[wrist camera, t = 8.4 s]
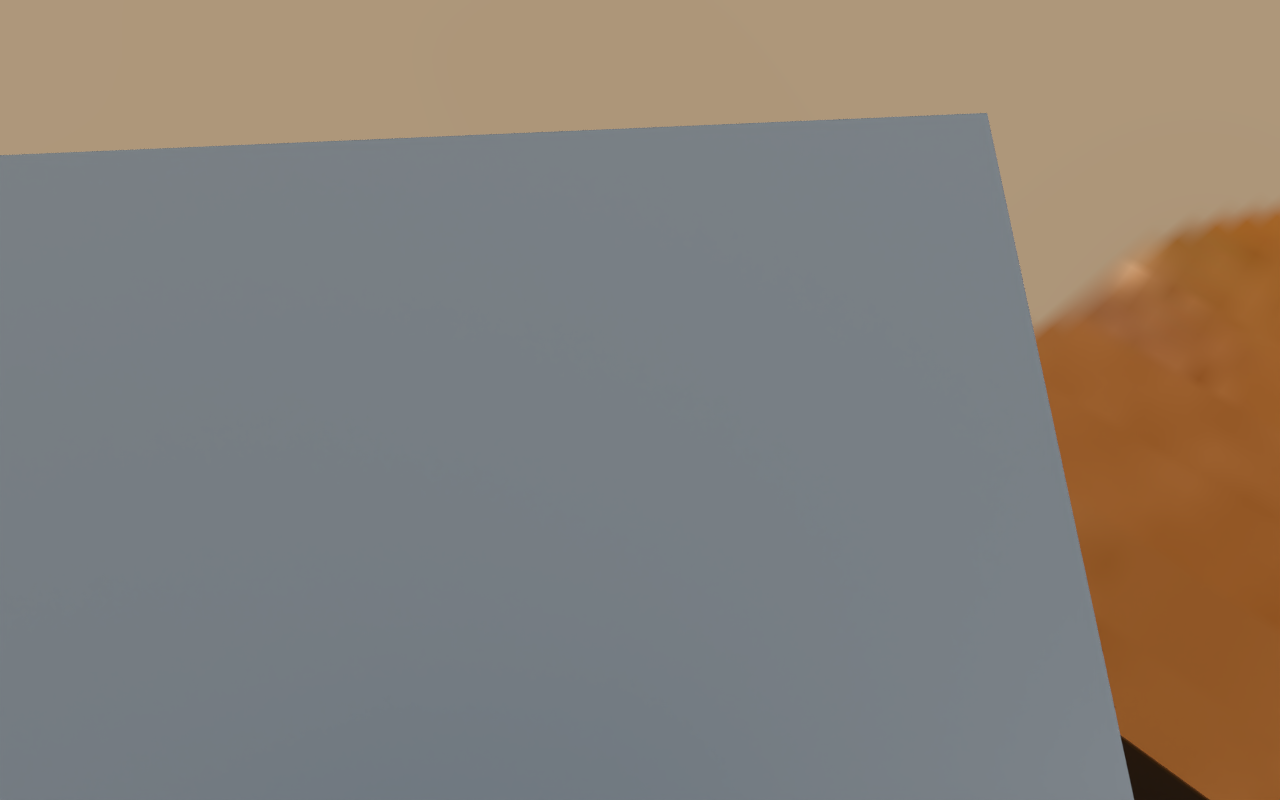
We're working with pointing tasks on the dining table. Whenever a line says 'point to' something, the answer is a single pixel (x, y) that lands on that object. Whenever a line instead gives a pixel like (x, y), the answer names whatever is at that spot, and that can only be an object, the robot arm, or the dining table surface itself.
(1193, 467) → the dining table surface
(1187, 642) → the dining table surface
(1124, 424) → the dining table surface
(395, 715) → the tall grey-blue carton
